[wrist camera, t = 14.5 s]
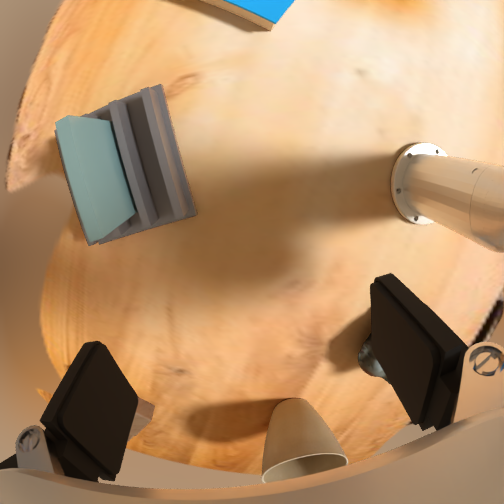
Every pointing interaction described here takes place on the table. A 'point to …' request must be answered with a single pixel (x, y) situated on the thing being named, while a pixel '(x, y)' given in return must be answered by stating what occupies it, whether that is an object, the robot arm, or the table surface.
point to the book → (255, 10)
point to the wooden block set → (141, 417)
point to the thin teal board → (96, 174)
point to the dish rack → (146, 162)
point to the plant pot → (299, 443)
